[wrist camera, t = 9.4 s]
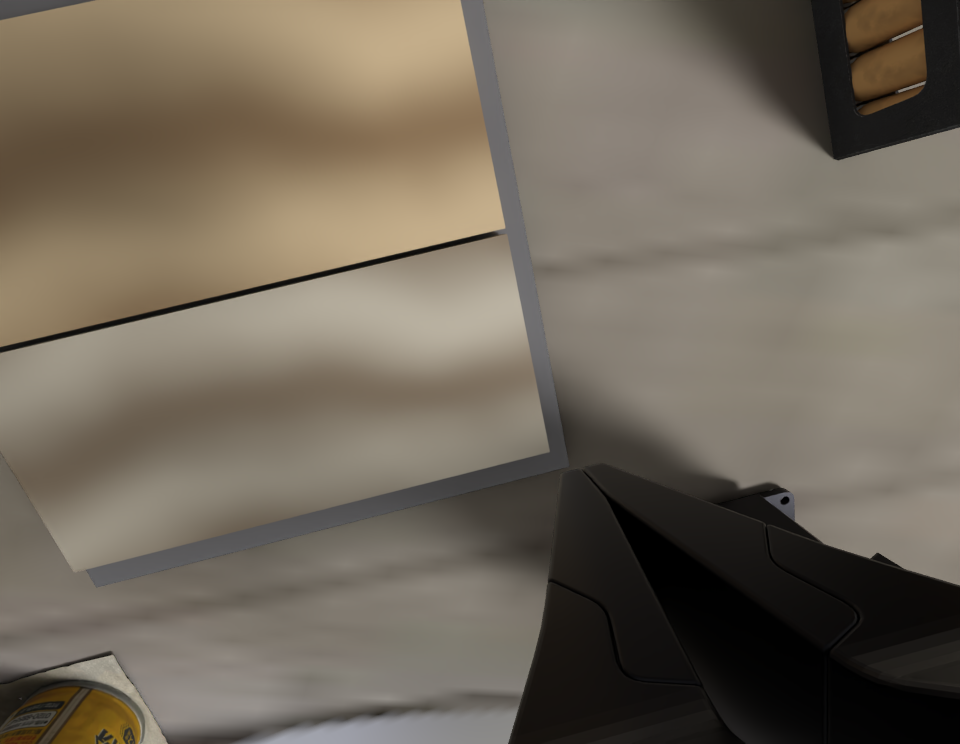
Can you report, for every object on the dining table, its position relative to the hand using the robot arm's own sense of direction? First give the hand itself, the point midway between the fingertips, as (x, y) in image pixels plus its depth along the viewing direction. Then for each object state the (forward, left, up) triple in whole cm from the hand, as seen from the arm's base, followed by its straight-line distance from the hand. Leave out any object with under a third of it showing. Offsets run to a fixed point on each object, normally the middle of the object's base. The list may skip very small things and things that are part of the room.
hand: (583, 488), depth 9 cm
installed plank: (+9, +9, -11) cm, 17 cm away
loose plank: (0, +9, -11) cm, 14 cm away
